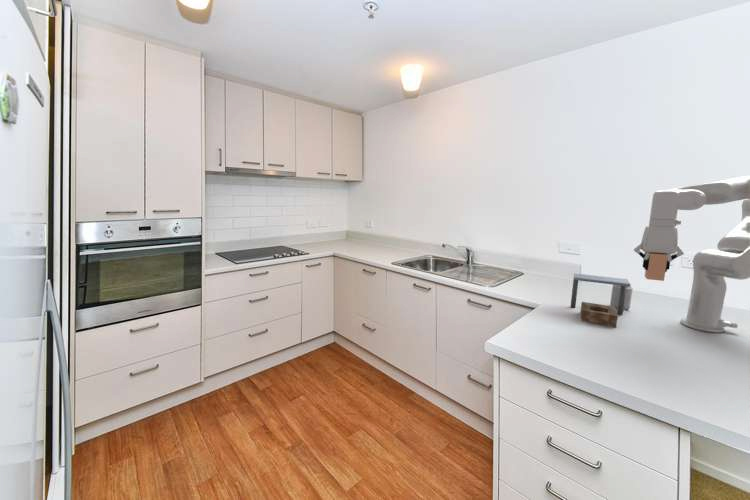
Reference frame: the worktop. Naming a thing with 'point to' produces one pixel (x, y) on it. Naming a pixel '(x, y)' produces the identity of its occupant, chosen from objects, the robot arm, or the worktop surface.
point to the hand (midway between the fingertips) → (655, 269)
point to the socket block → (598, 314)
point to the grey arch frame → (604, 280)
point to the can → (616, 295)
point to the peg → (656, 266)
